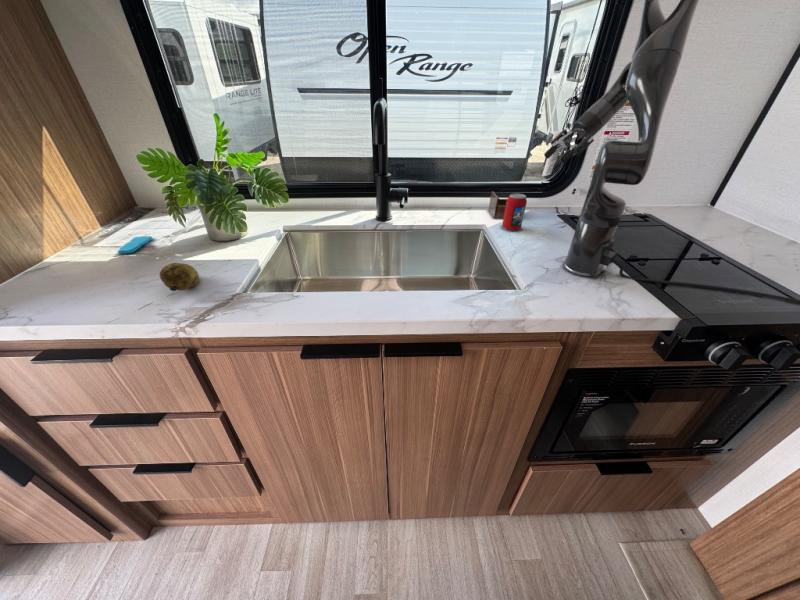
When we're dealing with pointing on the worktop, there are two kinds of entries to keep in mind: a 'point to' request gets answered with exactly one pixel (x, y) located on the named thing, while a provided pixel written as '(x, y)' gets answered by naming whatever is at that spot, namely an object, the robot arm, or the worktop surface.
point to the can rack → (497, 206)
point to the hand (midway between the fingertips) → (552, 159)
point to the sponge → (134, 244)
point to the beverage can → (514, 211)
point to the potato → (179, 276)
